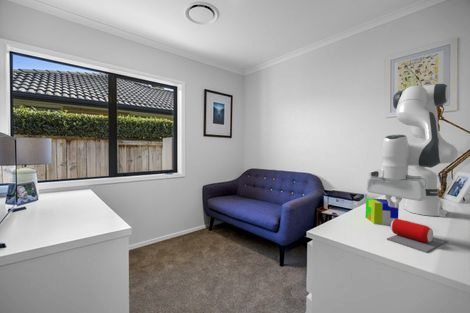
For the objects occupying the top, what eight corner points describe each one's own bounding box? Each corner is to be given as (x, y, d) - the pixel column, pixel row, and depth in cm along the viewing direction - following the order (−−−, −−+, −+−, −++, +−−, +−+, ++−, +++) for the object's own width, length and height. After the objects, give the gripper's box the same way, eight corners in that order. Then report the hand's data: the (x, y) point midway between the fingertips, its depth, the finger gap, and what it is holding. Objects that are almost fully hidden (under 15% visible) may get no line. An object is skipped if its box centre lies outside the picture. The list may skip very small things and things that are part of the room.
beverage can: (395, 215, 88) (432, 223, 78) (397, 227, 90) (435, 237, 79) (388, 223, 85) (426, 233, 75) (391, 235, 87) (428, 247, 77)
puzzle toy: (398, 225, 98) (398, 204, 98) (374, 223, 100) (374, 202, 100) (387, 218, 108) (387, 199, 108) (365, 217, 110) (366, 198, 110)
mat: (408, 231, 91) (408, 230, 91) (447, 242, 80) (447, 240, 80) (386, 239, 82) (387, 238, 82) (426, 252, 71) (426, 251, 71)
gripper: (429, 176, 80) (428, 212, 81) (372, 171, 98) (372, 200, 98) (422, 177, 77) (421, 214, 78) (364, 172, 95) (364, 202, 95)
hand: (393, 207), depth 88 cm, fingers closed
